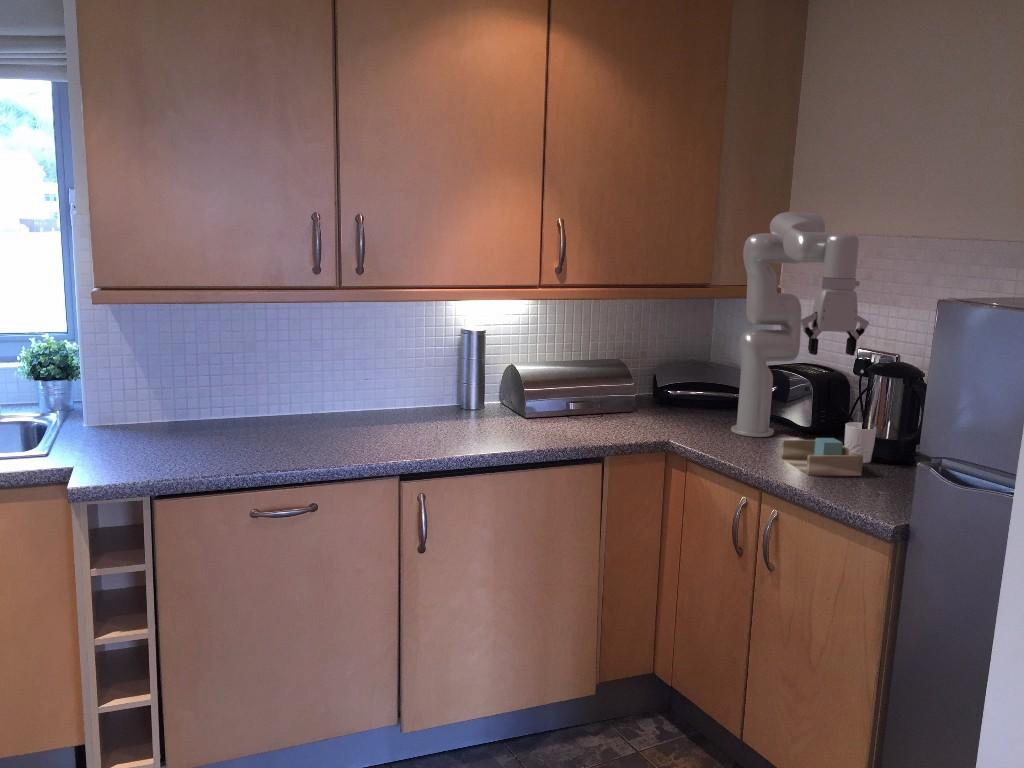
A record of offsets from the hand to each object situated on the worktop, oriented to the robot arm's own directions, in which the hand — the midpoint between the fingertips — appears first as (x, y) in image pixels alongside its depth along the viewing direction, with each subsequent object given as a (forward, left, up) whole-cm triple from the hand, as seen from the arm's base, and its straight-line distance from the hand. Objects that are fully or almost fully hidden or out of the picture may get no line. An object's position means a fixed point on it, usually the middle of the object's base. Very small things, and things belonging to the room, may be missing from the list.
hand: (831, 354), depth 217 cm
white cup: (-13, +17, -31) cm, 38 cm away
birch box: (-6, +3, -31) cm, 32 cm away
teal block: (-6, +5, -31) cm, 32 cm away
